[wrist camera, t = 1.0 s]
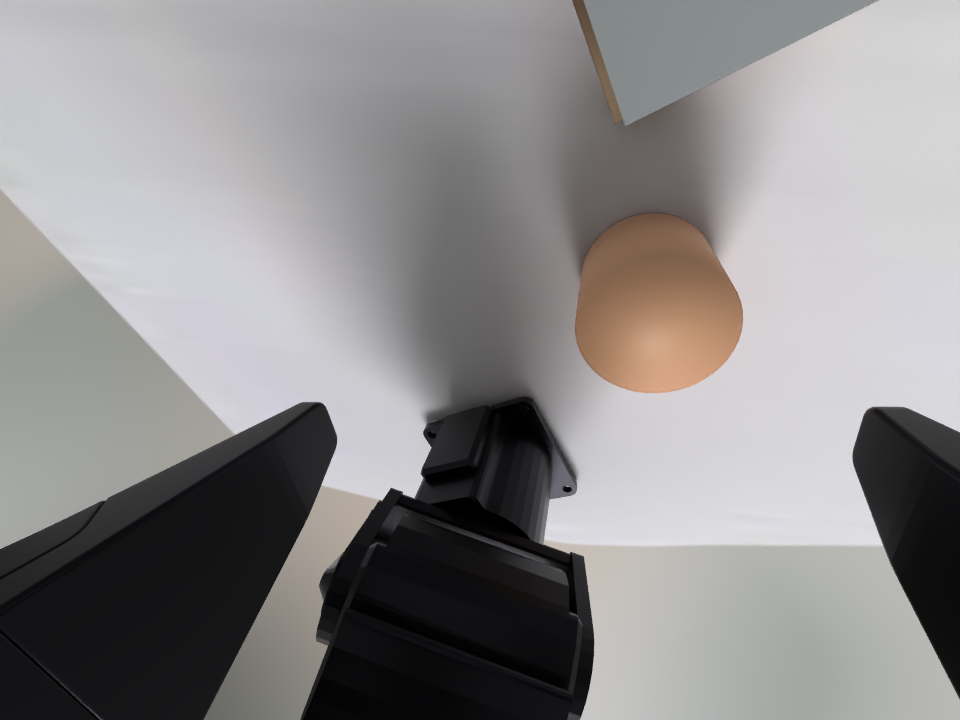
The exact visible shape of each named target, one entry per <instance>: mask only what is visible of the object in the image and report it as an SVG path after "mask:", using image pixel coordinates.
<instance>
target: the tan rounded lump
mask: <svg viewBox="0 0 960 720" xmlns="http://www.w3.org/2000/svg"><path fill="white" fill-rule="evenodd" d="M742 325H743V310H742V305H741V301H740V298H739V295H738V293H737V291H736V289H735V288H734V286H733V284H732V282H731V281H730V279H729V277H728V276H727V274H726V272H725V270H724V269H723V267H722V265H721V263H720V262H719V260H718V258H717V256H716V255H715V253H714V251H713V250H712V248H711V246H710V244H709V243H708V241H707V239H706V238H705V236H704V235H703V234H702V233H701V232H700V231H699V230H698V229H697V228H696V227H695V226H694V225H692V224H691V223H689V222H688V221H686V220H683V219H681V218H679V217H676V216H673V215H669V214H663V213H646V214H640V215H635V216H632V217H629V218H626V219H623V220H621V221H619V222H617V223H616V224H614V225H612V226H611V227H609V228H608V229H607V230H606V231H604V232H603V233H602V234H601V235H600V236H599V237H598V238H597V239H596V241H595V242H594V243H593V245H592V246H591V248H590V249H589V251H588V253H587V255H586V258H585V260H584V264H583V268H582V275H581V283H580V290H579V298H578V305H577V313H576V322H575V334H576V340H577V344H578V347H579V350H580V352H581V354H582V356H583V358H584V359H585V361H586V362H587V363H588V365H589V366H590V367H591V368H592V369H593V370H594V371H595V372H596V373H597V374H598V375H599V376H601V377H602V378H603V379H605V380H607V381H608V382H610V383H612V384H614V385H616V386H618V387H621V388H624V389H627V390H631V391H636V392H643V393H663V392H671V391H676V390H680V389H683V388H686V387H689V386H691V385H694V384H696V383H698V382H700V381H702V380H704V379H705V378H707V377H708V376H710V375H711V374H713V373H714V372H715V371H716V370H718V369H719V368H720V367H721V366H722V365H723V364H724V363H725V362H726V360H727V359H728V358H729V357H730V355H731V354H732V352H733V351H734V349H735V347H736V345H737V343H738V341H739V338H740V335H741V331H742Z"/></svg>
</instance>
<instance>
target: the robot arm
mask: <svg viewBox="0 0 960 720" xmlns="http://www.w3.org/2000/svg"><path fill="white" fill-rule="evenodd" d="M521 406H526V407H528V408H529V409H523V408H522V407H521ZM431 431H433V432H435V433H436V434H434V433H432V432H431ZM423 434H424V437H425V438H426V440H427V441H428V443H429V444H430V446H431V447H432V448H431V450H430V453H429V455H428V457H427V459H426V461H425V463H424V465H423V467H422V470H421V475H422V477H423V478H424V479H423V481H422V483H421V485H420V487H419V490H418V492H417V494H416V496H415V498H412V497H409V496H406V495H403V492H402V491H399V490H396V489H393V488H391V489H390V490H389V492H388V493H387V495H386V496H385V498H384V499H383V501H381V500H380V501H379V502H378V503H377V505H376V506H375V508H374V509H373V510H372V511H371V513H370V515H369V516H368V518H367V519H366V521H365V522H364V524H363V525H362V527H361V528H360V530H359V531H358V532H357V534H356V535H355V537H354V538H353V540H352V541H351V543H350V544H349V545H348V547H347V548H346V550H345V551H344V552H343V553H342V554H341V555H340V557H338V558H337V560H335V561H334V563H333V564H332V565H331V566H330V567H329V568H328V569H327V570H326V571H325V572H324V574H323V576H322V578H321V581H320V584H319V588H320V591H321V594H322V598H323V601H324V602H323V606H322V610H321V617H320V621H319V624H318V628H317V634H316V641H317V642H320V643H323V644H325V645H328V648H327V651H326V653H325V656H324V659H323V661H322V664H321V666H320V669H319V672H318V674H317V677H316V680H315V682H314V685H313V687H312V690H311V693H310V695H309V698H308V701H307V704H306V706H305V708H304V711H303V714H302V717H301V720H580V718H581V715H582V712H583V709H584V706H585V703H586V699H587V695H588V691H589V687H590V680H591V675H592V667H593V658H594V633H593V624H592V617H591V608H590V601H589V593H588V586H587V577H586V570H585V563H584V556H581V555H578V554H576V553H573V552H571V553H570V554H569V553H566V552H563V551H560V550H558V549H555V548H552V547H549V546H546V545H543V541H544V534H545V527H546V520H547V513H548V505H549V499H554V498H560V497H566V496H571V495H574V494H575V493H576V491H577V482H576V480H575V478H574V476H573V474H572V473H571V471H570V469H569V467H568V465H567V463H566V461H565V459H564V457H563V456H562V454H561V452H560V450H559V448H558V446H557V444H556V442H555V440H554V438H553V437H552V435H551V433H550V431H549V429H548V427H547V425H546V423H545V421H544V420H543V418H542V416H541V414H540V412H539V410H538V408H537V406H536V404H535V403H534V401H533V400H532V399H530V398H527V397H521V398H517V399H514V400H510V401H507V402H503V403H499V404H496V405H492V406H487V405H485V406H482V407H478V408H475V409H471V410H468V411H464V412H461V413H457V414H454V415H450V416H447V417H446V418H445V419H443V420H439V421H436V422H432V423H429V424H427V426H426V427H425V429H424V431H423ZM336 445H337V435H336V432H335V429H334V427H333V424H332V422H331V419H330V416H329V414H328V411H327V409H326V407H325V406H324V404H322V403H320V402H302V403H299V404H297V405H295V406H293V407H291V408H289V409H287V410H285V411H283V412H281V413H279V414H277V415H275V416H273V417H271V418H269V419H267V420H265V421H263V422H261V423H259V424H257V425H255V426H253V427H251V428H249V429H247V430H245V431H243V432H241V433H239V434H236V435H234V436H232V437H230V438H228V439H226V440H224V441H222V442H220V443H218V444H216V445H214V446H212V447H210V448H208V449H206V450H204V451H202V452H200V453H198V454H196V455H194V456H192V457H190V458H188V459H186V460H184V461H182V462H180V463H178V464H176V465H174V466H172V467H170V468H168V469H166V470H164V471H162V472H160V473H158V474H155V475H154V476H151V477H149V478H147V479H145V480H143V481H141V482H139V483H137V484H135V485H133V486H131V487H129V488H127V489H125V490H123V491H121V492H119V493H117V494H115V495H113V496H111V497H109V498H108V499H107V500H106V501H101V502H99V503H97V504H95V505H93V506H91V507H88V508H86V509H84V510H82V511H81V512H78V513H76V514H74V515H72V516H70V517H68V518H66V519H64V520H62V521H60V522H58V523H55V524H54V525H52V526H50V527H47V528H45V529H43V530H41V531H39V532H37V533H35V534H32V535H30V536H28V537H26V538H24V539H21V540H20V541H17V542H15V543H13V544H11V545H8V546H6V547H4V548H2V549H0V720H203V719H204V718H205V716H206V714H207V712H208V710H209V708H210V706H211V704H212V702H213V700H214V698H215V696H216V694H217V693H218V691H219V689H220V687H221V685H222V683H223V681H224V679H225V677H226V675H227V673H228V671H229V669H230V667H231V665H232V663H233V662H234V660H235V658H236V656H237V654H238V652H239V650H240V648H241V646H242V644H243V642H244V640H245V638H246V636H247V634H248V633H249V631H250V629H251V627H252V625H253V623H254V621H255V619H256V617H257V615H258V613H259V611H260V609H261V607H262V605H263V604H264V602H265V600H266V598H267V596H268V594H269V592H270V590H271V588H272V586H273V584H274V582H275V580H276V578H277V576H278V574H279V573H280V571H281V569H282V567H283V565H284V563H285V561H286V559H287V557H288V555H289V553H290V551H291V549H292V547H293V545H294V543H295V542H296V540H297V538H298V536H299V534H300V532H301V530H302V528H303V526H304V524H305V522H306V520H307V518H308V516H309V514H310V511H311V509H312V506H313V504H314V502H315V499H316V497H317V494H318V492H319V489H320V487H321V484H322V482H323V479H324V477H325V474H326V472H327V469H328V467H329V464H330V462H331V459H332V457H333V454H334V452H335V449H336ZM853 464H854V468H855V471H856V473H857V476H858V479H859V482H860V484H861V487H862V490H863V492H864V495H865V498H866V500H867V503H868V506H869V509H870V511H871V514H872V517H873V519H874V522H875V525H876V527H877V530H878V533H879V535H880V538H881V541H882V544H883V546H884V549H885V551H886V554H887V556H888V558H889V561H890V563H891V565H892V567H893V570H894V572H895V574H896V576H897V578H898V580H899V582H900V584H901V586H902V588H903V590H904V592H905V593H906V596H907V597H908V599H909V601H910V603H911V605H912V607H913V609H914V611H915V613H916V615H917V617H918V619H919V621H920V623H921V625H922V627H923V629H924V631H925V632H926V634H927V636H928V638H929V640H930V642H931V644H932V646H933V648H934V650H935V652H936V654H937V656H938V658H939V660H940V662H941V664H942V666H943V668H944V669H945V672H946V673H947V675H948V677H949V679H950V681H951V683H952V685H953V687H954V689H955V691H956V693H957V695H958V697H959V699H960V432H958V431H956V430H953V429H951V428H949V427H947V426H945V425H943V424H940V423H938V422H936V421H934V420H932V419H930V418H928V417H925V416H923V415H921V414H919V413H917V412H915V411H912V410H910V409H908V408H905V407H872V408H870V409H868V410H867V411H866V412H865V414H864V416H863V419H862V422H861V426H860V429H859V432H858V436H857V439H856V442H855V445H854V449H853ZM566 486H570V487H566Z"/></svg>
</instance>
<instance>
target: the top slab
mask: <svg viewBox="0 0 960 720" xmlns="http://www.w3.org/2000/svg"><path fill="white" fill-rule="evenodd" d="M876 1H878V0H584V3H585V6H586V9H587V12H588V15H589V18H590V21H591V24H592V27H593V30H594V33H595V36H596V39H597V42H598V45H599V48H600V52H601V55H602V58H603V61H604V64H605V67H606V70H607V73H608V76H609V79H610V82H611V85H612V88H613V91H614V94H615V97H616V100H617V103H618V106H619V109H620V112H621V115H622V118H623V121H624V124H625V126H627V125H629V124H631V123H633V122H635V121H637V120H639V119H641V118H643V117H645V116H647V115H649V114H651V113H653V112H655V111H657V110H659V109H661V108H663V107H665V106H667V105H669V104H671V103H673V102H675V101H677V100H679V99H681V98H683V97H685V96H687V95H689V94H691V93H693V92H695V91H697V90H699V89H701V88H703V87H705V86H707V85H709V84H711V83H713V82H715V81H717V80H719V79H721V78H723V77H725V76H727V75H729V74H731V73H733V72H735V71H737V70H739V69H741V68H743V67H745V66H747V65H750V64H752V63H754V62H756V61H758V60H760V59H762V58H764V57H766V56H768V55H770V54H772V53H774V52H776V51H778V50H780V49H782V48H784V47H786V46H788V45H790V44H792V43H794V42H796V41H798V40H800V39H802V38H804V37H806V36H808V35H810V34H812V33H814V32H816V31H818V30H820V29H822V28H824V27H826V26H828V25H830V24H832V23H834V22H836V21H838V20H840V19H842V18H844V17H846V16H848V15H850V14H852V13H854V12H856V11H858V10H860V9H862V8H864V7H866V6H868V5H870V4H872V3H874V2H876Z"/></svg>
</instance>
